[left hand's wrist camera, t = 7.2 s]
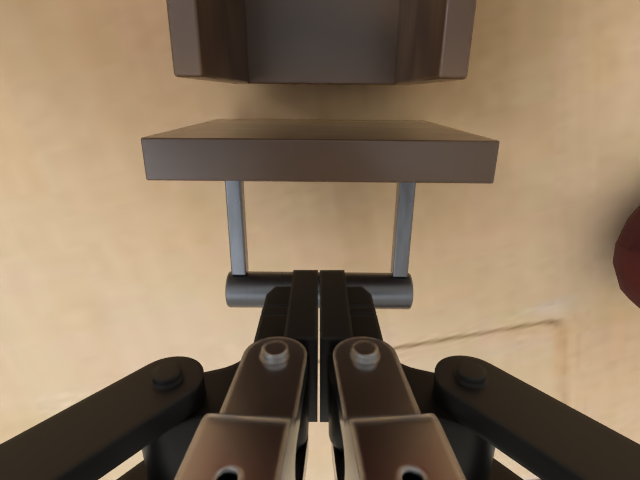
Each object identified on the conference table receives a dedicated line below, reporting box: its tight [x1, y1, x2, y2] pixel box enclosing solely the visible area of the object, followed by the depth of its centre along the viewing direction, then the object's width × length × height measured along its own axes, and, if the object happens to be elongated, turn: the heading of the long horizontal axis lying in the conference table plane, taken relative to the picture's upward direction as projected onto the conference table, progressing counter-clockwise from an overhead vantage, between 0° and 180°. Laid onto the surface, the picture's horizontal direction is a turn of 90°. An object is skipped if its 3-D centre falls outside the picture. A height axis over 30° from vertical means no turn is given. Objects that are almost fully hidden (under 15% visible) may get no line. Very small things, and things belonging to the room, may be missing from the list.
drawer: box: [141, 0, 499, 309], centre depth 14 cm, size 22×10×9 cm, turn 0°
